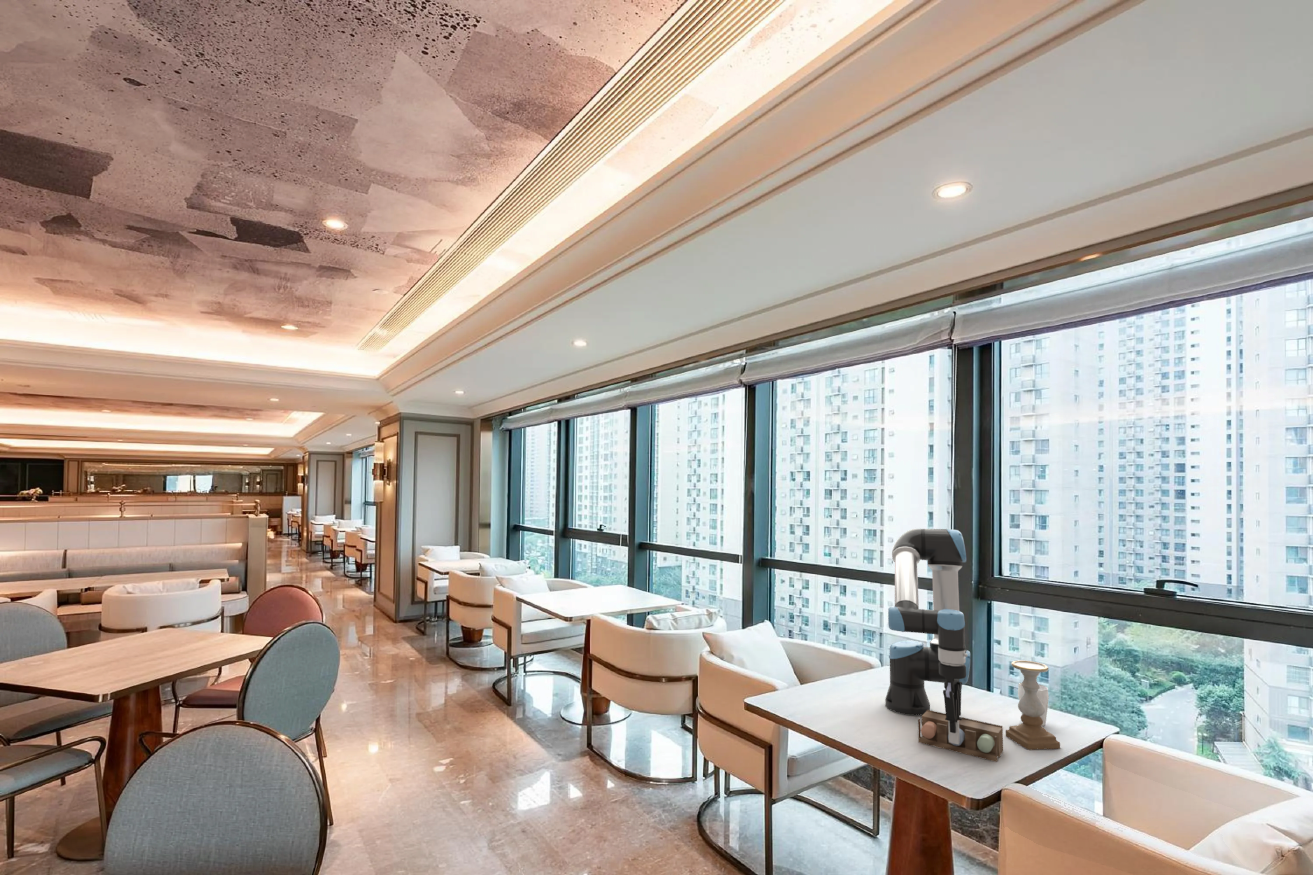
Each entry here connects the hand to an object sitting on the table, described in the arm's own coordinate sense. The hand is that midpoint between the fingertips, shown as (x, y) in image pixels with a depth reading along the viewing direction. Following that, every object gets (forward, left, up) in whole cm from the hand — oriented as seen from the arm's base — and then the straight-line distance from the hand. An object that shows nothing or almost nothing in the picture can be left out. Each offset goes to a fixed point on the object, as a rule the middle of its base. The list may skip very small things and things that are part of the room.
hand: (954, 742), depth 190 cm
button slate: (0, +3, -1) cm, 3 cm away
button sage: (+8, +3, -1) cm, 9 cm away
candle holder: (+17, +25, -4) cm, 30 cm away
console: (0, +7, -3) cm, 8 cm away
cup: (+15, +44, -4) cm, 46 cm away
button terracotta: (-8, +3, -1) cm, 9 cm away
